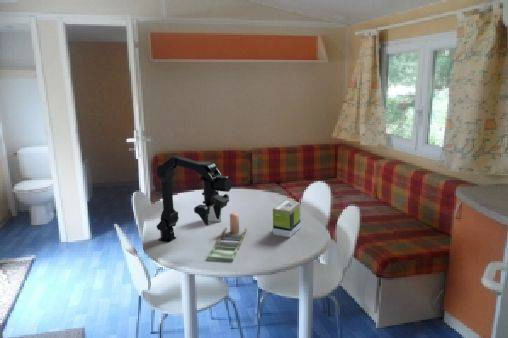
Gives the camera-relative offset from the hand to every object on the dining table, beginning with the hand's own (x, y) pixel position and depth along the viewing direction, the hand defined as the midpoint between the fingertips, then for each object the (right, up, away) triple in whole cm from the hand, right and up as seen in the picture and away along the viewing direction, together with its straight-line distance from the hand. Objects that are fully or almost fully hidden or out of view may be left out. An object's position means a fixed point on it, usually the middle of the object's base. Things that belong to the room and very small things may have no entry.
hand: (212, 222), depth 179 cm
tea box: (+37, -9, +25) cm, 46 cm away
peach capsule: (+9, -9, +24) cm, 27 cm away
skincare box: (-3, -5, +42) cm, 42 cm away
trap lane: (+7, -12, +10) cm, 17 cm away
